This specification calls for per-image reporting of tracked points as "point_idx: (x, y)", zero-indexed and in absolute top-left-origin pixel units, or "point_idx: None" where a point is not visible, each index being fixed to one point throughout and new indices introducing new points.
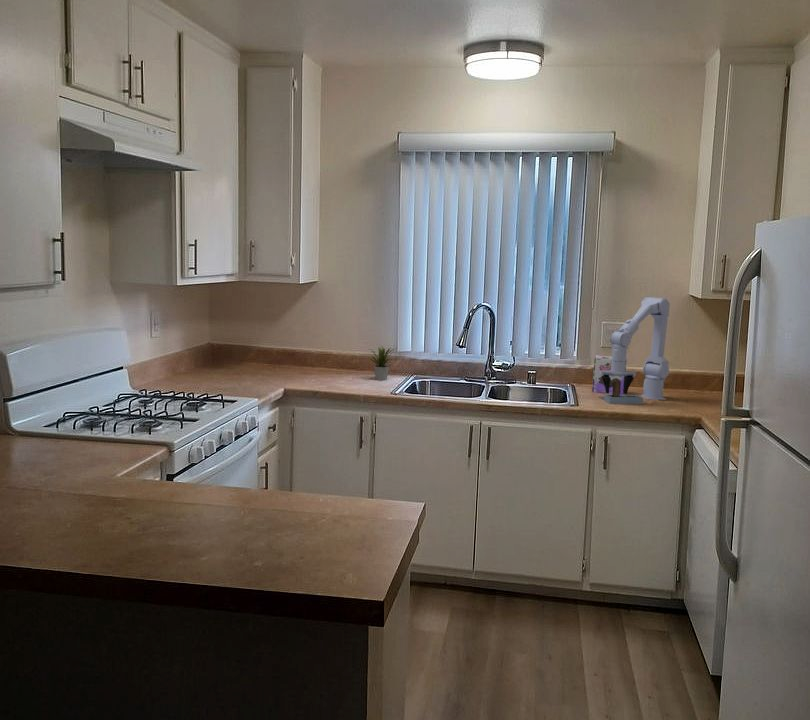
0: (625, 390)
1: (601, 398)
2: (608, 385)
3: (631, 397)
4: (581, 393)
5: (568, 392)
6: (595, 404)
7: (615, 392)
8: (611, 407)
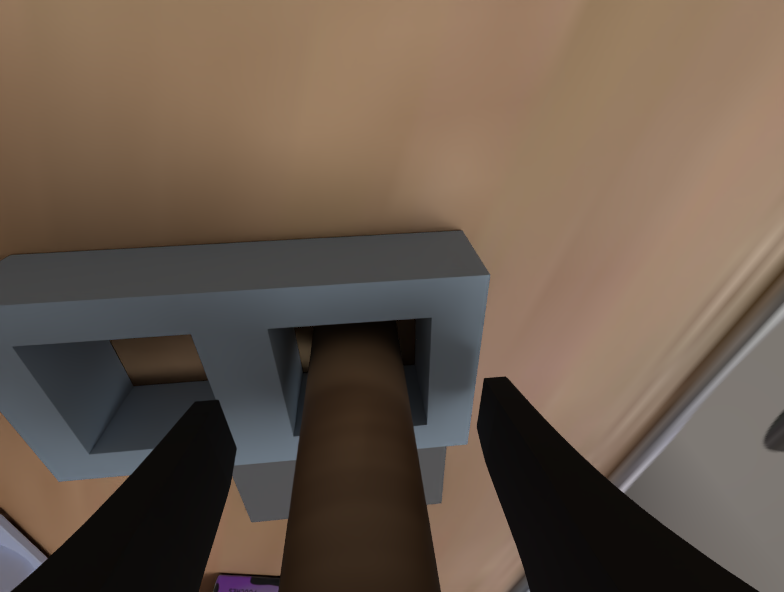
0: (201, 450)
1: (441, 454)
2: (572, 480)
3: (130, 329)
4: (498, 565)
5: None
6: (635, 214)
7: (384, 394)
8: (521, 6)
